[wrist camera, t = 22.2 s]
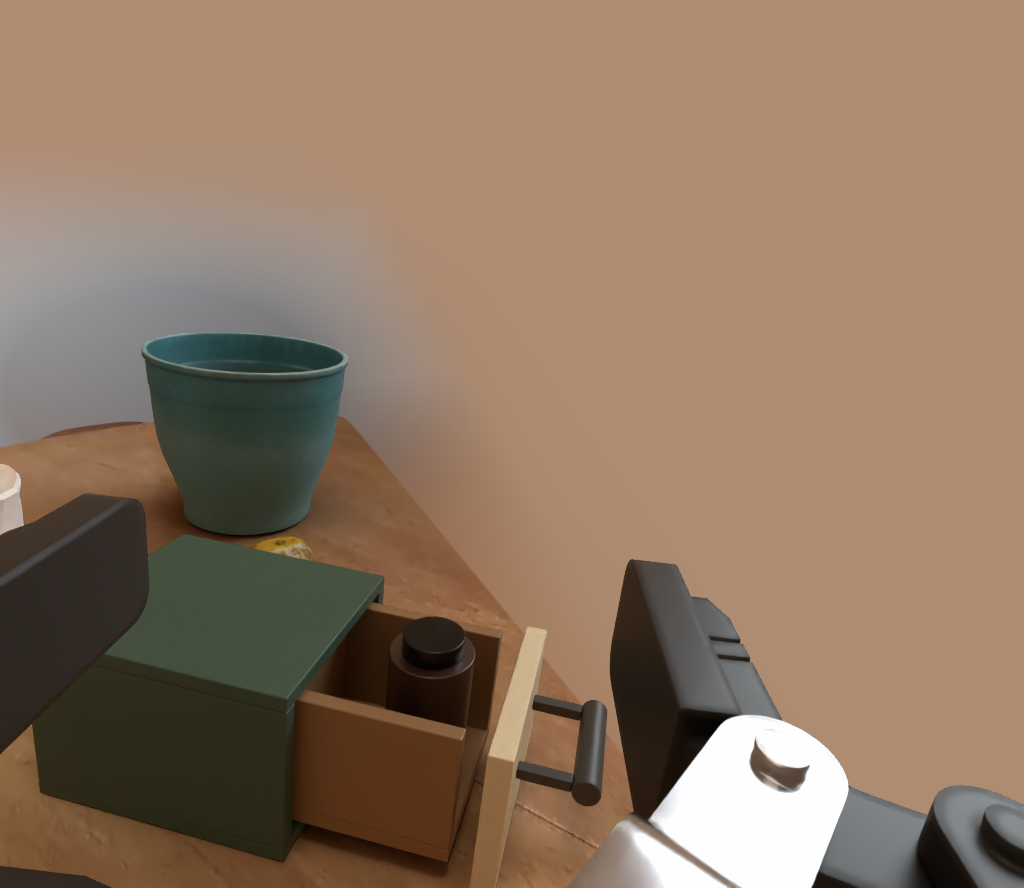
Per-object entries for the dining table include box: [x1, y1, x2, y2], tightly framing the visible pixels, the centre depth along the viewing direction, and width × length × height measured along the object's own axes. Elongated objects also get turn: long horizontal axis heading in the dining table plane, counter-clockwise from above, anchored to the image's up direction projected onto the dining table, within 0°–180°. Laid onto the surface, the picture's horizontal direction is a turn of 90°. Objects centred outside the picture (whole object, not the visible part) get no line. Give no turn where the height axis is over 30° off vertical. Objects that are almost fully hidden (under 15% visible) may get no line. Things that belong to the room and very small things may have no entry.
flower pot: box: [141, 332, 348, 535], centre depth 64 cm, size 18×18×17 cm
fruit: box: [253, 536, 317, 562], centre depth 54 cm, size 8×8×4 cm
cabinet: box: [32, 534, 384, 862], centre depth 36 cm, size 14×12×10 cm
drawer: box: [292, 602, 607, 888], centre depth 34 cm, size 17×10×8 cm, turn 79°
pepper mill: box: [385, 616, 475, 729], centre depth 34 cm, size 4×4×8 cm
